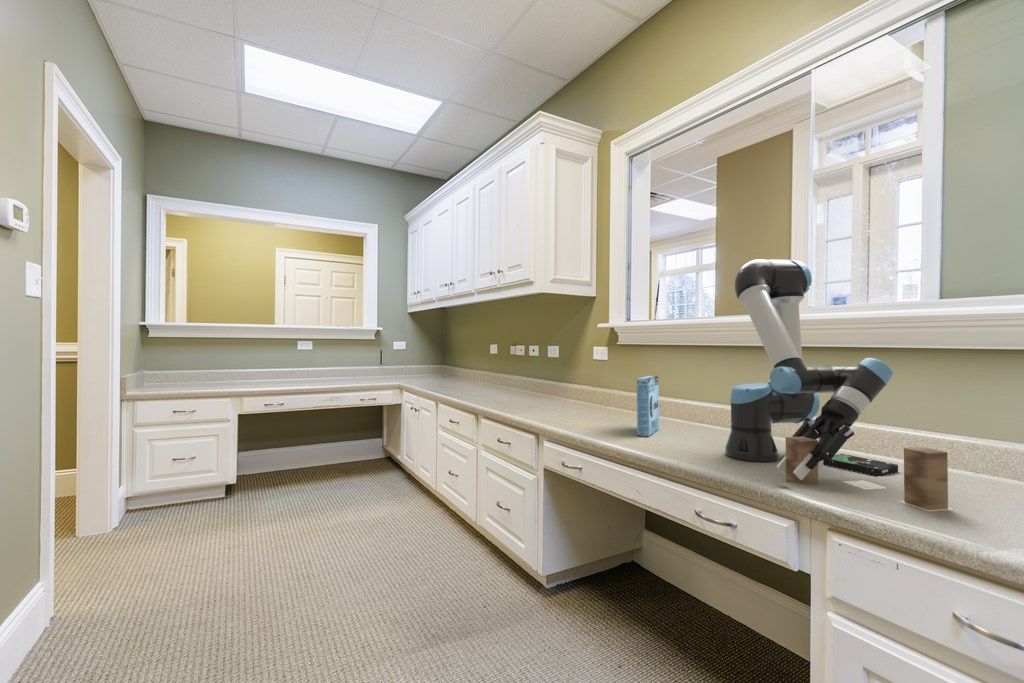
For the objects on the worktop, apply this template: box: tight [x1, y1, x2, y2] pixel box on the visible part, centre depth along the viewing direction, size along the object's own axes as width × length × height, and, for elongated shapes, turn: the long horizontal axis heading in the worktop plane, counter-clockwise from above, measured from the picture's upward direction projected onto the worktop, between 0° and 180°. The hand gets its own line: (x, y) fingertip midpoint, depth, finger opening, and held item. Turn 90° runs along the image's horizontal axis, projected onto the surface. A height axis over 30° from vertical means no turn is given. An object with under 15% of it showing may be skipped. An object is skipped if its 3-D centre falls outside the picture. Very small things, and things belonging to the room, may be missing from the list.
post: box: [785, 436, 819, 484], centre depth 118 cm, size 5×5×12 cm
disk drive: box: [822, 453, 899, 477], centre depth 133 cm, size 10×3×15 cm
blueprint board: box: [843, 479, 955, 512], centre depth 107 cm, size 23×18×1 cm
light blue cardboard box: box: [636, 375, 660, 437], centre depth 188 cm, size 20×5×23 cm, turn 150°
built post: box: [903, 446, 949, 510], centre depth 99 cm, size 5×5×12 cm
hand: (788, 472), depth 117 cm, fingers closed on post, 5 cm apart
